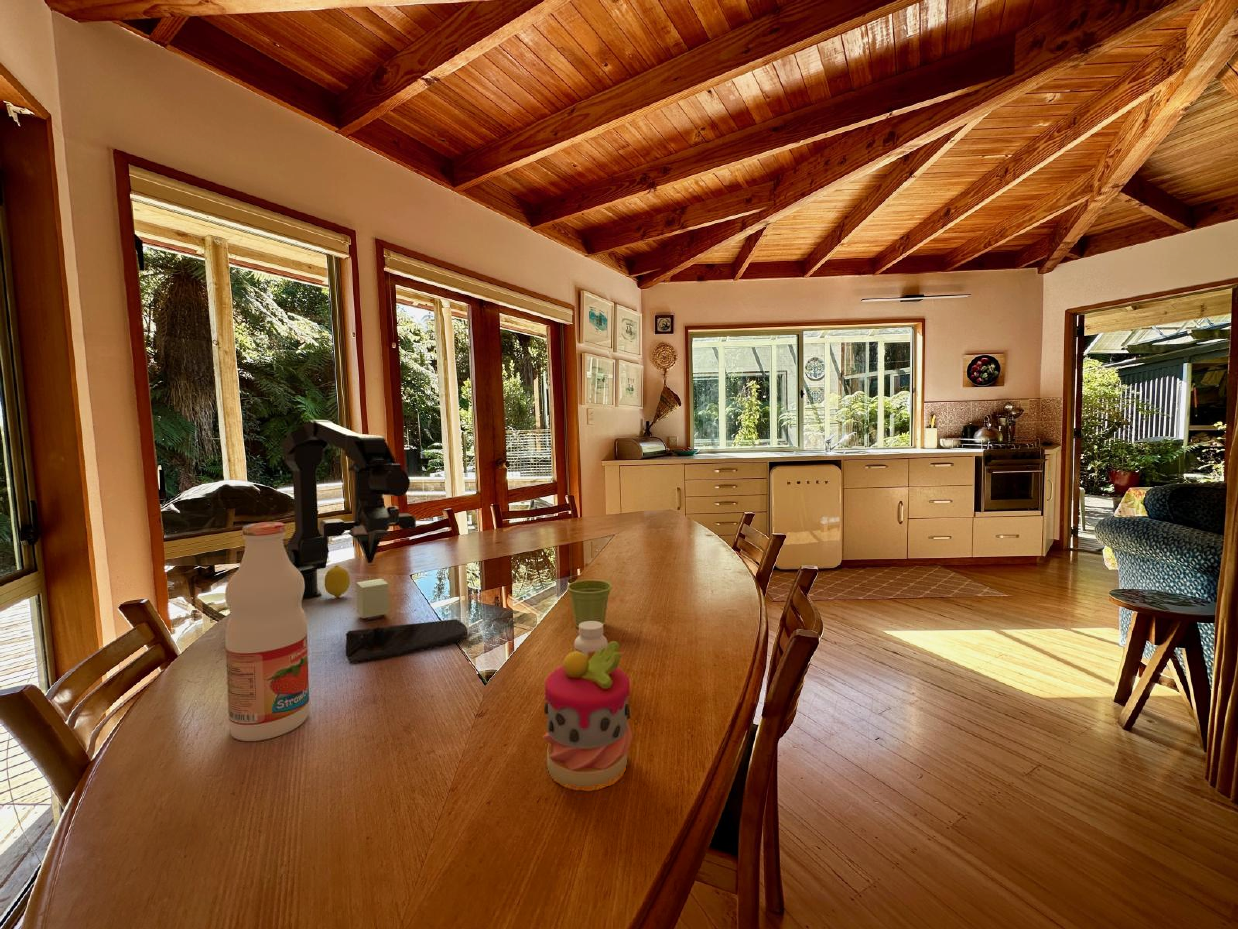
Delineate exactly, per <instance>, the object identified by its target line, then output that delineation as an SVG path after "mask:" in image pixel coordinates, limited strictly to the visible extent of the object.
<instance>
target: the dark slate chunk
mask: <svg viewBox="0 0 1238 929" xmlns="http://www.w3.org/2000/svg"><path fill="white" fill-rule="evenodd" d="M467 635H468V628H467V626H466V624H465V623H463V622H462V621H460V620H459V619H457V618H455V619H445V620H444V619H443V620H436V621H435V620H434V621H429V622H418V623H407V624H398V625H396V624H395V625H390V626H381V627H380V626H379V627H372V628H371V627H369V628H361V629H353V630H348V631H347V632H346V634H345V636H346V637H345V639H346V640H345V641H346V642H345V656H346V658H348V662H349V663H351V664H361V663H363V662H365V661H366V662H367V661H372V660H373V661H374V660H382V659H389V658H391V657H397V656H403V655H405V654H408V653H414V652H421V651H423V650H424V651H426V650H429V649H436V648H441V647H445V646H448V645H451V644H455V643H458V642H459V641H462V640H464V639H465V638H467ZM377 647H378V648H379V647H381V650H380V651H373V648H377Z"/></svg>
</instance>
